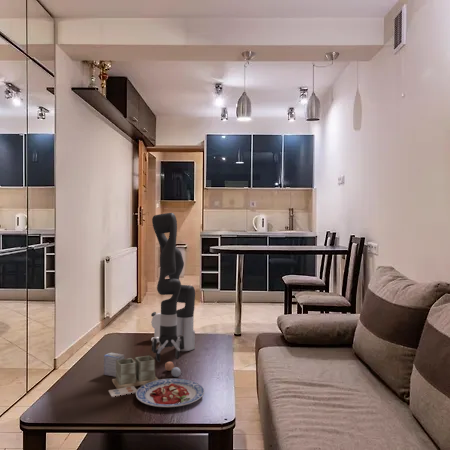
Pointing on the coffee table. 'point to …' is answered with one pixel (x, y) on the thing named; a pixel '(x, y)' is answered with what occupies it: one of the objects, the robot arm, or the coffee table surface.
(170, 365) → the terracotta ball
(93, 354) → the coffee table surface
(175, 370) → the grey ball
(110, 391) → the card
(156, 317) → the white bear shaped stand
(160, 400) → the ceramic plate
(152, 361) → the tube stand
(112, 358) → the medicine box
